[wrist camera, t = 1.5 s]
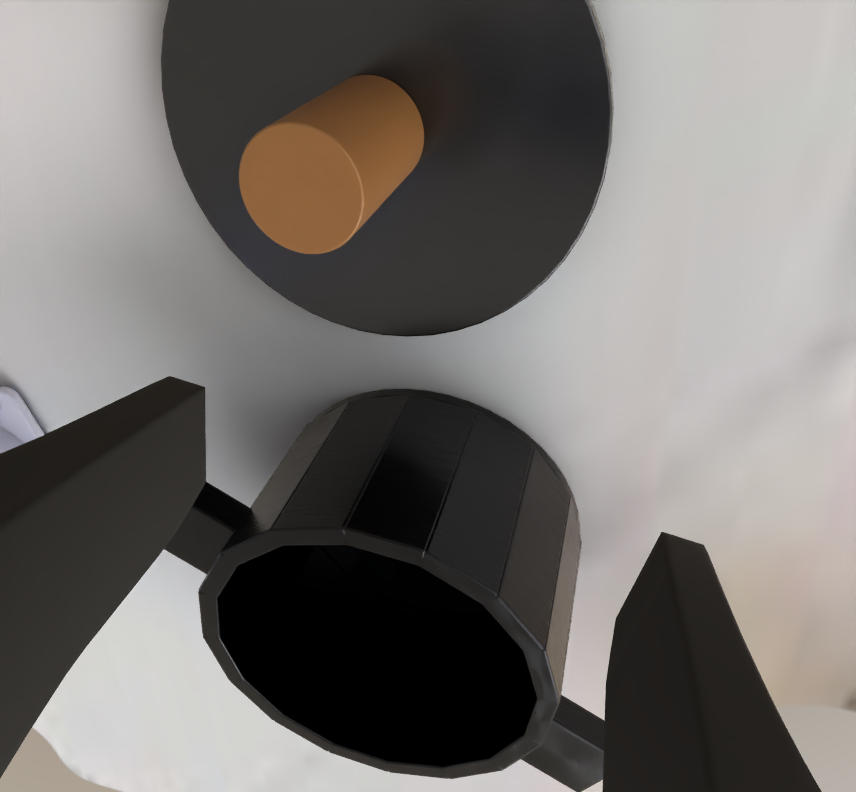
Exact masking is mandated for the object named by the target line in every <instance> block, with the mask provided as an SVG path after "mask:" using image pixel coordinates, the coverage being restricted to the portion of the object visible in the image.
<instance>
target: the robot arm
mask: <svg viewBox="0 0 856 792" xmlns="http://www.w3.org/2000/svg"><path fill="white" fill-rule="evenodd" d="M205 483H206V439H205V387H202V386H199V385H196V384H193V383H190V382H186V381H183V380H180V379H177V378H174V377H171V376H169V377H167V378H164V379H162V380H160V381H157V382H155V383H153V384H151V385H149V386H147V387H144V388H142V389H140V390H138V391H136V392H134V393H132V394H130V395H128V396H126V397H124V398H122V399H119V400H117V401H115V402H113V403H111V404H109V405H107V406H105V407H103V408H101V409H99V410H97V411H95V412H92V413H90V414H88V415H86V416H84V417H82V418H80V419H77V420H75V421H73V422H71V423H69V424H67V425H65V426H62V427H60V428H58V429H56V430H54V431H52V432H50V433H47V434H44V433H43V431H42V430H41V428H40V426H39V425H38V423H37V422H36V420H35V418H34V417H33V415H32V414H31V412H30V411H29V409H28V407H27V406H26V404H25V403H24V401H23V399H22V398H21V396H20V395H19V394H18V393H17V392H16V391H15V390H14V389H12V388H9V387H4V386H3V387H0V778H1V776H2V775H3V773H4V771H5V770H6V768H7V766H8V765H9V763H10V762H11V760H12V758H13V757H14V755H15V754H16V752H17V750H18V749H19V747H20V745H21V744H22V742H23V740H24V739H25V737H26V735H27V734H28V732H29V731H30V729H31V728H32V726H33V725H34V723H35V722H36V720H37V718H38V717H39V715H40V714H41V712H42V711H43V709H44V708H45V706H46V705H47V703H48V701H49V700H50V698H51V697H52V695H53V694H54V692H55V691H56V689H57V688H58V686H59V684H60V683H61V681H62V680H63V678H64V677H65V675H66V674H67V672H68V671H69V670H70V668H71V667H72V665H73V664H74V663H75V661H76V660H77V659H78V657H79V656H80V654H81V653H82V652H83V650H84V649H85V648H86V646H87V645H88V644H89V643H90V641H91V640H92V639H93V638H94V636H95V635H96V634H97V633H98V631H99V630H100V629H101V628H102V626H103V625H104V624H105V623H106V621H107V620H108V619H109V617H110V616H111V615H112V614H113V612H114V611H115V610H116V609H117V607H118V606H119V605H120V604H121V602H122V601H123V600H124V599H125V597H126V596H127V595H128V594H129V592H130V591H131V590H132V589H133V587H134V586H135V585H136V584H137V582H138V581H139V580H140V579H141V577H142V576H143V575H144V574H145V572H146V571H147V570H148V568H149V567H150V566H151V565H152V563H153V562H154V561H155V560H156V558H157V557H158V556H159V554H160V553H161V552H162V551H163V549H164V548H165V547H166V545H167V544H168V543H169V541H170V540H171V539H172V538H173V536H174V535H175V533H176V532H177V530H178V528H179V527H180V525H181V524H182V522H183V520H184V519H185V517H186V516H187V514H188V512H189V511H190V509H191V507H192V505H193V504H194V502H195V500H196V499H197V497H198V495H199V493H200V492H201V490H202V488H203V486H204V485H205ZM603 792H821V790H820V788H819V787H818V785H817V783H816V781H815V780H814V778H813V776H812V774H811V773H810V771H809V769H808V767H807V765H806V764H805V762H804V760H803V758H802V756H801V754H800V753H799V751H798V749H797V747H796V745H795V743H794V741H793V739H792V738H791V736H790V734H789V732H788V730H787V728H786V727H785V725H784V723H783V721H782V719H781V717H780V715H779V713H778V711H777V709H776V707H775V705H774V703H773V701H772V699H771V697H770V695H769V692H768V690H767V688H766V686H765V684H764V682H763V680H762V678H761V675H760V673H759V671H758V669H757V667H756V665H755V663H754V661H753V658H752V656H751V654H750V652H749V650H748V648H747V645H746V643H745V641H744V639H743V636H742V634H741V632H740V630H739V627H738V625H737V623H736V620H735V618H734V616H733V613H732V611H731V608H730V606H729V604H728V601H727V599H726V596H725V594H724V592H723V589H722V587H721V584H720V582H719V579H718V577H717V574H716V572H715V569H714V567H713V564H712V562H711V560H710V557H709V555H708V552H707V550H706V549H705V547H704V545H702V544H699V543H696V542H692V541H689V540H686V539H683V538H680V537H677V536H674V535H670V534H667V533H664V532H661V534H660V536H659V538H658V540H657V542H656V544H655V546H654V548H653V549H652V551H651V553H650V555H649V557H648V559H647V561H646V563H645V565H644V566H643V568H642V570H641V572H640V574H639V576H638V578H637V580H636V582H635V583H634V585H633V587H632V589H631V591H630V593H629V595H628V597H627V599H626V600H625V602H624V604H623V606H622V608H621V610H620V612H619V614H618V616H617V618H616V622H615V628H614V634H613V640H612V646H611V653H610V659H609V666H608V673H607V680H606V699H605V729H604V763H603Z"/></svg>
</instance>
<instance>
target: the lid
mask: <svg viewBox="0 0 856 792" xmlns="http://www.w3.org/2000/svg"><path fill="white" fill-rule="evenodd" d="M161 70H162V92H163V99H164V106H165V112H166V119H167V123H168V127H169V131H170V135H171V139H172V143H173V147H174V150H175V152H176V155H177V158H178V161H179V163H180V166H181V169H182V171H183V174H184V177H185V179H186V181H187V183H188V185H189V187H190V189H191V191H192V193H193V195H194V197H195V199H196V201H197V203H198V204H199V206H200V208H201V209H202V211H203V212H204V214H205V216H206V217H207V219H208V220H209V222H210V224H211V225H212V227H213V228H214V229H215V231H216V232H217V233H218V235H219V236H220V237H221V238H222V240H223V241H224V242H225V244H226V245H227V246H228V248H229V249H230V250H231V251H232V252H233V253H234V254H235V255H236V256H237V257H238V258H239V259H240V260H241V261H242V263H243V264H244V265H245V266H246V267H247V268H248V269H249V270H251V271H252V272H253V273H254V274H255V275H256V276H257V277H259V278H260V279H261V280H262V281H263V282H264V283H265V284H267V285H268V286H269V287H271V288H272V289H273V290H275V291H276V292H278V293H279V294H281V295H282V296H283V297H285V298H286V299H288V300H289V301H291V302H293V303H294V304H296V305H298V306H300V307H302V308H303V309H305V310H307V311H309V312H310V313H312V314H315V315H317V316H319V317H322V318H324V319H326V320H329V321H331V322H333V323H336V324H339V325H343V326H346V327H349V328H353V329H356V330H359V331H365V332H370V333H376V334H381V335H393V336H425V335H436V334H441V333H447V332H452V331H457V330H460V329H464V328H467V327H470V326H473V325H476V324H479V323H482V322H484V321H486V320H488V319H490V318H493V317H495V316H497V315H499V314H501V313H503V312H505V311H507V310H508V309H510V308H511V307H513V306H514V305H516V304H517V303H519V302H520V301H522V300H524V299H525V298H527V297H528V296H529V295H530V294H531V293H532V292H534V291H535V290H536V289H537V288H538V287H539V286H541V285H542V284H543V283H544V282H545V281H546V280H547V279H548V278H549V277H550V276H551V275H552V274H553V273H554V271H555V270H556V269H557V268H558V267H559V266H560V265H561V263H562V262H563V261H564V260H565V259H566V257H567V256H568V254H569V253H570V251H571V250H572V248H573V247H574V245H575V244H576V242H577V241H578V239H579V238H580V236H581V235H582V233H583V231H584V229H585V227H586V225H587V222H588V220H589V218H590V216H591V214H592V212H593V210H594V208H595V205H596V202H597V199H598V196H599V193H600V190H601V187H602V184H603V181H604V178H605V174H606V168H607V163H608V158H609V153H610V147H611V142H612V127H613V110H614V106H613V92H612V78H611V70H610V65H609V60H608V55H607V50H606V45H605V40H604V36H603V33H602V30H601V27H600V25H599V22H598V19H597V16H596V13H595V10H594V7H593V4H592V2H591V0H169V4H168V9H167V14H166V19H165V24H164V30H163V42H162V54H161Z"/></svg>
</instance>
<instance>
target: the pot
mask: <svg viewBox="0 0 856 792" xmlns="http://www.w3.org/2000/svg"><path fill="white" fill-rule="evenodd" d="M581 543H582V542H581V538H580V524H579V517H578V510H577V507H576V504H575V500H574V497H573V494H572V492H571V490H570V488H569V486H568V484H567V482H566V480H565V478H564V476H563V475H562V473H561V472H560V470H559V469H558V467H557V466H556V464H555V463H554V462H553V460H552V459H551V458H550V457H549V456H548V455H547V453H546V452H545V451H544V450H543V449H542V448H541V447H540V446H539V445H538V444H537V443H536V442H535V441H534V440H532V439H531V438H530V437H529V436H528V435H527V434H526V433H524V432H523V431H522V430H520V429H519V428H517V427H516V426H515V425H513V424H512V423H510V422H509V421H507V420H506V419H504V418H502V417H500V416H499V415H497V414H495V413H493V412H491V411H490V410H487V409H485V408H483V407H480V406H478V405H476V404H474V403H471V402H469V401H466V400H462V399H459V398H456V397H453V396H450V395H445V394H440V393H435V392H430V391H423V390H411V389H391V390H380V391H374V392H368V393H364V394H360V395H357V396H354V397H350V398H348V399H345V400H343V401H341V402H339V403H337V404H335V405H333V406H331V407H330V408H328V409H327V410H325V411H324V412H322V413H321V414H319V415H318V416H317V417H316V418H315V419H314V420H313V421H312V422H310V423H309V424H308V425H307V426H305V428H304V429H303V431H302V432H301V434H300V435H299V437H298V438H297V440H296V441H295V443H294V444H293V446H292V447H291V449H290V450H289V451H288V453H287V454H286V456H285V457H284V459H283V460H282V462H281V463H280V465H279V466H278V468H277V469H276V471H275V472H274V474H273V475H272V477H271V478H270V480H269V481H268V482H267V484H266V485H265V487H264V488H263V490H262V491H261V493H260V494H259V496H258V497H257V499H256V500H255V502H254V503H253V505H252V506H251V508H249V507H247V506H246V505H244V504H242V503H241V502H239V501H237V500H236V499H234V498H232V497H231V496H229V495H227V494H226V493H224V492H223V491H221V490H219V489H218V488H216V487H214V486H213V485H211V484H209V483H208V482H206V483H205V485H204V486H203V488H202V490H201V492H200V493H199V495H198V497H197V499H196V500H195V502H194V504H193V505H192V507H191V509H190V511H189V512H188V514H187V516H186V517H185V519H184V520H183V522H182V524H181V525H180V527H179V528H178V530H177V532H176V533H175V535H174V536H173V538H172V539H171V540H170V541H169V543H168V544H167V545H166V547H165V548H164V549H165V550H167V551H168V552H170V553H172V554H173V555H175V556H177V557H178V558H180V559H182V560H184V561H185V562H187V563H189V564H190V565H192V566H194V567H195V568H197V569H199V570H201V571H202V572H204V573H206V574H207V576H206V577H205V579H204V581H203V583H202V584H201V586H200V588H199V592H198V593H199V603H200V613H201V623H202V632H203V638H204V639H205V641H206V643H207V644H208V646H209V647H210V649H211V651H212V652H213V654H214V656H215V657H216V659H217V661H218V662H219V664H220V666H221V667H222V669H223V671H224V672H225V674H226V676H227V677H228V679H229V680H230V681H231V682H232V683H233V684H234V685H235V686H236V687H237V688H238V689H239V690H240V691H241V692H242V693H244V694H245V695H246V696H247V697H248V698H249V699H250V700H251V701H252V702H253V703H255V704H256V705H257V706H258V707H259V708H260V709H261V710H262V711H263V712H264V713H265V714H267V715H268V716H269V717H270V718H271V719H272V720H274V721H275V722H277V723H279V724H280V725H282V726H284V727H286V728H287V729H289V730H291V731H293V732H294V733H296V734H298V735H300V736H301V737H303V738H305V739H307V740H308V741H310V742H312V743H314V744H315V745H317V746H319V747H321V748H322V749H324V750H326V751H329V752H330V753H333V754H336V755H339V756H342V757H345V758H348V759H351V760H354V761H357V762H360V763H363V764H366V765H369V766H372V767H375V768H378V769H381V770H384V771H389V772H391V773H400V774H410V775H419V776H428V777H437V778H446V779H448V778H450V779H453V778H459V777H465V776H471V775H477V774H483V773H489V772H496V771H502V770H503V769H506V768H507V767H509V766H510V765H512V764H513V763H515V762H516V761H518V760H519V759H522V760H523V761H525V762H527V763H528V764H530V765H532V766H534V767H535V768H537V769H539V770H540V771H542V772H544V773H545V774H547V775H549V776H551V777H552V778H554V779H556V780H557V781H559V782H561V783H562V784H564V785H566V786H568V787H569V788H571V789H573V790H574V791H576V792H581V791H583V790H585V789H587V788H589V787H590V786H592V785H594V784H596V783H598V782H599V781H601V780H603V763H604V729H605V721H604V720H602V719H601V718H599V717H597V716H596V715H594V714H592V713H591V712H589V711H587V710H586V709H584V708H582V707H581V706H579V705H577V704H576V703H574V702H572V701H571V700H569V699H567V698H566V697H564V696H562V695H561V691H562V683H563V676H564V668H565V661H566V654H567V646H568V639H569V632H570V624H571V617H572V609H573V602H574V595H575V587H576V580H577V573H578V565H579V558H580V550H581Z"/></svg>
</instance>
